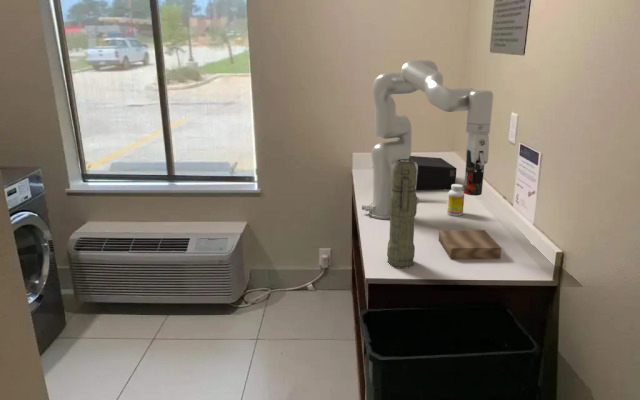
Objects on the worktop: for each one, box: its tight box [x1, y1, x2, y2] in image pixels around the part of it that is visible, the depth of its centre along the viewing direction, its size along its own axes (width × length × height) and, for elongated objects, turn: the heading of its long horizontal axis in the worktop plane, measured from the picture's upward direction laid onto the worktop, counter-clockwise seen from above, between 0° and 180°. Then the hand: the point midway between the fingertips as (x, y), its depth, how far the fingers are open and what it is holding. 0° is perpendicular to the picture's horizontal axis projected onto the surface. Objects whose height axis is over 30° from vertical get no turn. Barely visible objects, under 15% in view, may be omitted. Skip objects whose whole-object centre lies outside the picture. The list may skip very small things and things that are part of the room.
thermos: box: [386, 159, 418, 269], centre depth 159 cm, size 9×12×35 cm
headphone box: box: [409, 155, 458, 192], centre depth 258 cm, size 25×35×14 cm
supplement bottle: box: [446, 183, 465, 217], centre depth 210 cm, size 7×7×13 cm
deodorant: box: [463, 150, 485, 196], centre depth 166 cm, size 6×6×15 cm
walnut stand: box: [438, 229, 502, 260], centre depth 174 cm, size 17×17×4 cm
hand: (473, 180), depth 167 cm, fingers closed on deodorant, 5 cm apart
